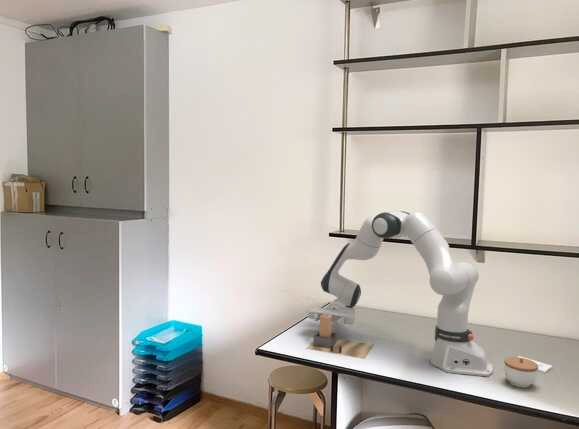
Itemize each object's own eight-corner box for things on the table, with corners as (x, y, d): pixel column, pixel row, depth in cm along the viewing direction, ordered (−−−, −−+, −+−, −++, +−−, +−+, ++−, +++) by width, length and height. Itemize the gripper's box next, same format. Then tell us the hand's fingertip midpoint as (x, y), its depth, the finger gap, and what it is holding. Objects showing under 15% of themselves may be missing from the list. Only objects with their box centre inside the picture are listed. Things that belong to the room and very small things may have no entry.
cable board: (373, 346, 202) (374, 338, 202) (364, 361, 186) (364, 352, 186) (319, 337, 211) (319, 330, 211) (305, 350, 195) (306, 342, 195)
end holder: (336, 342, 203) (336, 333, 202) (331, 348, 196) (331, 339, 195) (319, 339, 205) (319, 330, 205) (313, 345, 198) (313, 336, 198)
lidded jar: (540, 384, 170) (542, 358, 170) (530, 393, 163) (532, 366, 162) (509, 374, 178) (511, 350, 177) (498, 383, 170) (500, 357, 169)
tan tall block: (331, 343, 202) (332, 310, 200) (328, 346, 198) (329, 313, 197) (321, 341, 203) (323, 309, 202) (318, 345, 199) (320, 311, 198)
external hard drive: (519, 359, 194) (552, 369, 186) (511, 364, 189) (545, 375, 180) (519, 355, 194) (553, 365, 185) (511, 360, 189) (545, 370, 180)
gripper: (313, 302, 217) (303, 310, 204) (358, 308, 210) (350, 316, 197) (313, 315, 218) (302, 324, 205) (357, 322, 210) (349, 332, 197)
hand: (326, 320), depth 201 cm, fingers open, 8 cm apart
